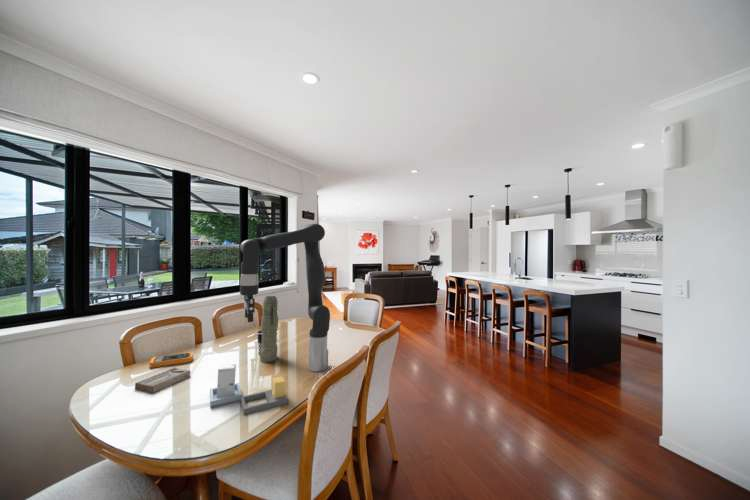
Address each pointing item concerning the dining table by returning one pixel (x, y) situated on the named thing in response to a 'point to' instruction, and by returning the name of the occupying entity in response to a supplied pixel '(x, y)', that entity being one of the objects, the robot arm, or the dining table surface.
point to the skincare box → (226, 381)
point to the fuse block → (267, 397)
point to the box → (162, 380)
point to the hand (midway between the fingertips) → (248, 319)
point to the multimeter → (171, 360)
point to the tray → (225, 400)
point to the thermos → (269, 330)
